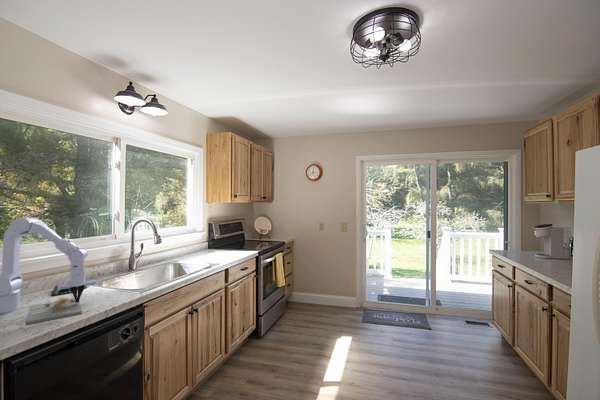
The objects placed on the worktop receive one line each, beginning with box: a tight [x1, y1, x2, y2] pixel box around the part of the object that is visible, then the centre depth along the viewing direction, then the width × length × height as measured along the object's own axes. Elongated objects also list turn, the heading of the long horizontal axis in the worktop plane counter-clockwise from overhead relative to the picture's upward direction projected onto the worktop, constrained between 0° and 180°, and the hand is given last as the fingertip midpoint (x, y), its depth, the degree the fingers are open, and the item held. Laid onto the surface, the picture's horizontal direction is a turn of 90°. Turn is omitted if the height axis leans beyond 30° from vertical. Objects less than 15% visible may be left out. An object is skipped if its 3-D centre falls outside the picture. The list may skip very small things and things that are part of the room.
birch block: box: [53, 296, 69, 309], centre depth 130 cm, size 5×5×4 cm
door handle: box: [50, 284, 88, 297], centre depth 156 cm, size 3×20×16 cm
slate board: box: [25, 296, 83, 327], centre depth 127 cm, size 18×23×3 cm
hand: (77, 302), depth 134 cm, fingers closed
